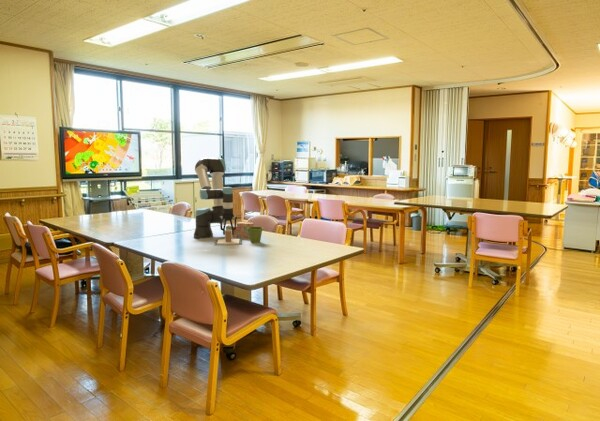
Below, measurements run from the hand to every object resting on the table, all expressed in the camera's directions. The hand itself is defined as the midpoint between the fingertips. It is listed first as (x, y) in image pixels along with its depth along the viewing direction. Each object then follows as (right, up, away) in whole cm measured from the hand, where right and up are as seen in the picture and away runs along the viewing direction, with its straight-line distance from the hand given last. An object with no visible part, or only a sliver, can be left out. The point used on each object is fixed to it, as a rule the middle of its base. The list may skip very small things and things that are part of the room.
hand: (228, 239), depth 305 cm
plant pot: (+20, -3, +3) cm, 20 cm away
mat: (0, -3, 0) cm, 3 cm away
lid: (0, -2, 0) cm, 3 cm away
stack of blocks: (+5, -1, +22) cm, 22 cm away
